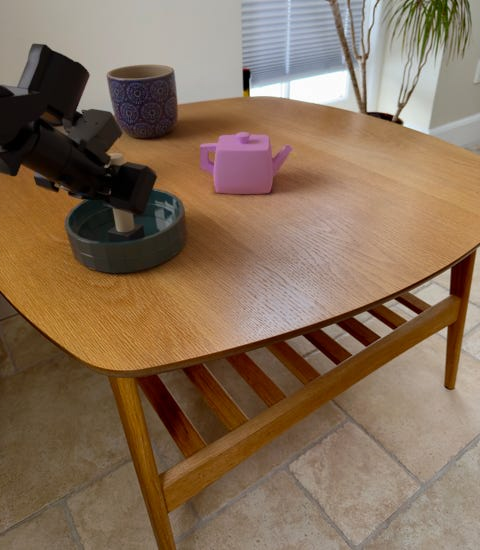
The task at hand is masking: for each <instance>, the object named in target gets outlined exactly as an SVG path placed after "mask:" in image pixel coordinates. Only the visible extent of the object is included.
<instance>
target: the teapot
mask: <svg viewBox="0 0 480 550" xmlns="http://www.w3.org/2000/svg"><path fill="white" fill-rule="evenodd" d="M293 148H294V147H293V145H288V144H284V146H283V147H282V149H280V150H279V151H278V152H277V153H276V155H274V157H273V152H272V144H271V139H270V136H269V135H267V134H251V133H250V132H247V131H240V132H237V133H236V134H224V135H223V134H222V135H220V136H219V137H218V140H217V142H209V143H208V142H207V143H206V142H205V143H201V144H200V146H199V168H200V170H202V171H204V172H207V173H209V174H210V175H212V176H213V185H214V189H215V192H216V193H218V194H231V195H260V194H261V195H262V194H269V193H270V192H271V190H272V187H273V181H274V177H276V175H277V174H278V172H279V170H280V169H281V167H282V166H283V165H284V163H285V162H286V160H287V158H288V157H289V156H290V154H291V152H292V151H293ZM209 152H215V155H214V161H211V160H210V154H209Z"/></svg>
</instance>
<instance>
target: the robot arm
mask: <svg viewBox="0 0 480 550" xmlns="http://www.w3.org/2000/svg"><path fill="white" fill-rule="evenodd" d="M21 73H22V74H21V76H20V78H19V80H18V83H17V85H16V86H14V85H13V86H12V85H6V84H0V174H3V175H7V176H10V177H17V176H18V174H19V171H20V168H21V166H23V167H25V168H26V169H28V170H31V171H33V172H34V173H33V179H34V183H35V185H36V186H38V187H40V188H42V189H44V190H47V191H50V192H54V193H57V194H58V193H59V192H60V188H61V189H62V190H64V191H66V192H67V195H68V196H69V197H70V198H71V197H72V198H75V199H78V200H83V201H84V200H105V201H104V204H103V206H107V207H110V208H114V209H119V210H122V211H124V212H128V213H131V214H135V215H141V214H143V213H144V211H145V209H146V206H147V203H148V200H149V198H150V195H151V192H152V189H153V188H155V187H154V186H155V184H156V181H157V179H158V175H157V172H156V171H155V170H153V169H152V168H151V167H149V166H148V165H145V164H140V163H135V162H131V161H126V162H125V163H124V164H122V165H121V166H120V165H114V164H111V165H110V166H109V167H108V168H105V165H108V164H109V162H110V159H111V156H109V155H108V154H109V153H107V152H109V151H110V150H111V148H112V147H113V145H115V143H116V141H118V139H120V138H122V135H123V133H124V131H123V130H122V129H121V128H120V126H119V125H118V123H117V121H116V118H115V115H114V114H113V112H111V111H108V110H102V109H96V108H90V109H81V110H80V111H78V107H79V105H80V102H81V100H82V96H83V95H84V92H85V89H86V87H87V84H88V81H89V79H90V76H91V74H90V72H89V71H88V69H87V68H86V67H85V66H84V65H83V64H82V63H81V62H79V61H75V60H73V59H72V58H70V57H68V56H67V55H65V54H63V53H60V52H58V51H55V50H53V49H52V48H51V47H49V46H48V45H47V44H46V43H45V44H43V43H35V42H33V43H32V44H31V46H30V49H29V51H28V55H27V61H26V63H25V66H24V68H23V71H22V72H21ZM39 117H41V118H43V119H45V120H48V121H50V122H53V123H57V124H61V122H63V126H64V129H65V131H66V132H67V136H66V135H65V134H63V133H62V132H60V131H59V130H57V129H56V128H54V127H53V126H51V125H50V124H48V123H47V122H45V121H44V120H42V119H41V118H39ZM108 174H109V175H110V176H109V175H108ZM56 184H58V186H59V187H58V186H56Z"/></svg>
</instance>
